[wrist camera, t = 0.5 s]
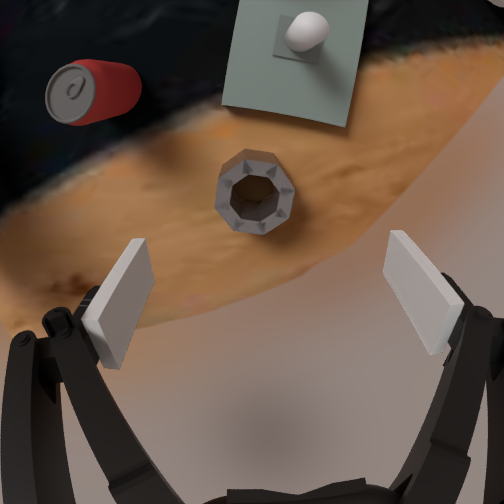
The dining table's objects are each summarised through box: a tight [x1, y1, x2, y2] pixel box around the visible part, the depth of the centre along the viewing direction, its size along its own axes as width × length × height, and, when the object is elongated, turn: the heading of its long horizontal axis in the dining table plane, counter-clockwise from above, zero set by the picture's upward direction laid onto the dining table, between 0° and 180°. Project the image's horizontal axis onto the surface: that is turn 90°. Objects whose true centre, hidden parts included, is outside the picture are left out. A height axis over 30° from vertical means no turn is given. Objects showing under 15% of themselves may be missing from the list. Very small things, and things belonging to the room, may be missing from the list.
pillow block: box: [222, 0, 368, 127], centre depth 25 cm, size 14×18×9 cm
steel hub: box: [215, 149, 295, 235], centre depth 35 cm, size 8×8×6 cm
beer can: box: [45, 59, 142, 126], centre depth 26 cm, size 7×7×12 cm
